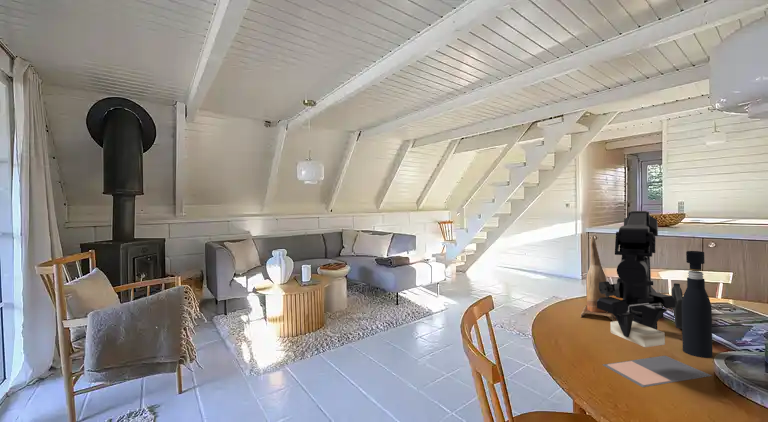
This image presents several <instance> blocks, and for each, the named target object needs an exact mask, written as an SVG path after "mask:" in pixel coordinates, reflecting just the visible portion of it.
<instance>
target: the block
mask: <svg viewBox="0 0 768 422" xmlns="http://www.w3.org/2000/svg"><path fill="white" fill-rule="evenodd" d="M610 333H611V334H613V335H615V336H618V337H620V338H622V339H624V340H626V341H629V342H631V343H634V344H636V345H638V346H641V347H643V348H650V347H651V348H652V347H657V346H664V345H666V336H665V335H666V333H665V332H664V331H661V330H659V329H657V330H656V329H653V328H651V327H648V326H645V325H642V324H640V323H637V322H634V321H632V326H631V331H630V334H629V337H625V336H624V335H623V333H622V330H621V328H620V326H619V323H618V321H617V320H614V321H613V320H612V321H610Z"/></svg>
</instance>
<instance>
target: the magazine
mask: <svg viewBox="0 0 768 422" xmlns="http://www.w3.org/2000/svg"><path fill="white" fill-rule="evenodd" d="M671 296H672V297H673V298H674V299H675V308H672V311H673V310H674V316H675V321H674V324H675V327H676V329H680V330H682V299H683V296H684V294H683V290H682V288H681V284H680V283H676V282H674V283H673V286H672V287H671ZM674 316H673V317H674Z"/></svg>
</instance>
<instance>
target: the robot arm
mask: <svg viewBox="0 0 768 422" xmlns="http://www.w3.org/2000/svg"><path fill="white" fill-rule="evenodd" d="M658 236H659V226H658V219H657V218H655V217H653V216H651V215H650V211H647V210H632V211H628V215H627V217H626V218H624V219H623V225H622V226H620V227H619V229H618V231H616V232H615V241H614V242H615V244H614V256H621V258H620V262H619V263H618V265H617V268H616V274H617V276H618V278H617V280H616V283H610V281H608V280H606V282H599V291H600V293H601V294H605V295H606V297H603V298H599V299H598V300H597V308H598V309H601V310H604V311H607V312H609V313H612V314H614V316H615V319H616V321H618V323H619V326H620V328H621V330H622V333H623V335H624V336H625V337H629V334H630V331H631V326H632V321H634V322H637V323H640V324H642V325H645V326H648V327H651V328H653V329H656V330H658V321H659V320H661V319H663V318H664V313H666V312H668V309H673V308H675V299H674V298H673V297H672V295H669V294H665V293H662V292H657V291H656V290H655V289H654V287H652V286H654V281H653V280H652V278H651V276H652V273H651V271H652V269H651V257H653V254H656V247H657V246H656V243H657V241H656V240H657V238H656V237H658ZM612 296H613V297H612ZM607 312H606V313H607Z"/></svg>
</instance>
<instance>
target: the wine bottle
mask: <svg viewBox="0 0 768 422" xmlns="http://www.w3.org/2000/svg"><path fill="white" fill-rule="evenodd" d="M685 253H686V254H685V255H686V263H687V264H689V269H688V270H689V271H688V272H687V274H688V275H687V278H686V282H687V283H686V286H687V287H686V289H685V291H684V294H683V299H682V329H681V331H682V333H681V334H682V336H681V337H682V342H681V343H682V352H683V353H685V354H687V355H689V356H693V357H695V358H701V359H708V358H712V357H713V313H712V312H713V311H712V310H713V309H712V304H711V300H710V297H709V295H708V293H707V290H706V284H705V283H706V279H705V278H704V272H703V270H702V265H704V264H705V263H706V262H705V261H706V260H705V252H704V251H700V250H699V251H698V250H687V251H686V252H685Z"/></svg>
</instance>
